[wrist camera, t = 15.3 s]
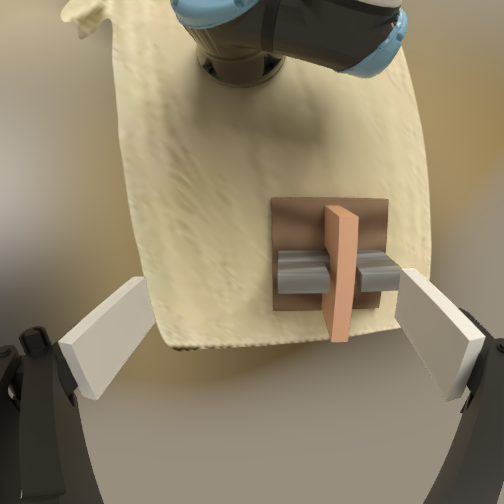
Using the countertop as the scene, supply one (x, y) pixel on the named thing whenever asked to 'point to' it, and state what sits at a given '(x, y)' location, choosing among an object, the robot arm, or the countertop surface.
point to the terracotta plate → (340, 270)
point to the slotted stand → (317, 257)
